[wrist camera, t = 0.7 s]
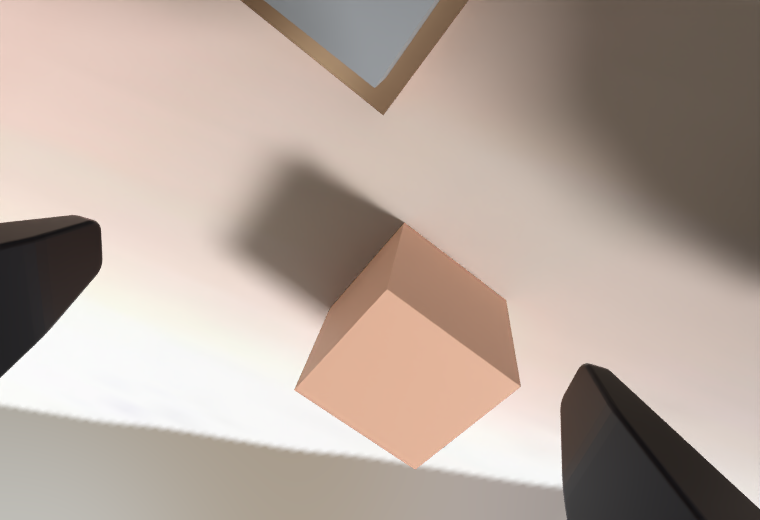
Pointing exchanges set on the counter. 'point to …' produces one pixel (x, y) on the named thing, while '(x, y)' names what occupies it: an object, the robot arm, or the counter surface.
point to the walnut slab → (376, 97)
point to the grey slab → (360, 29)
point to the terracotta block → (412, 351)
